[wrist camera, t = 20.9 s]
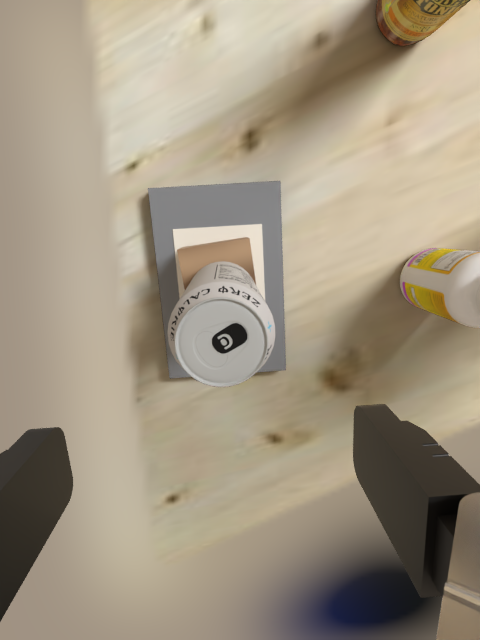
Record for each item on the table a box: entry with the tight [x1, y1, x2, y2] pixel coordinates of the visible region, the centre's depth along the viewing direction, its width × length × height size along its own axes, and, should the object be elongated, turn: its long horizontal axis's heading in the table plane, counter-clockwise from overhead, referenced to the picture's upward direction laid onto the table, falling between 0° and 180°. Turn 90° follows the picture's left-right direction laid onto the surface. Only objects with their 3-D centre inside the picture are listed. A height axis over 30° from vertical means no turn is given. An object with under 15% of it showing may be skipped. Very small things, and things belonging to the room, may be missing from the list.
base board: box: [148, 181, 286, 378], centre depth 39 cm, size 20×13×2 cm, turn 3°
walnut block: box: [177, 237, 256, 290], centre depth 36 cm, size 9×6×5 cm
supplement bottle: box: [400, 248, 480, 328], centre depth 34 cm, size 7×7×13 cm
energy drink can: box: [168, 261, 275, 387], centre depth 26 cm, size 6×6×15 cm
